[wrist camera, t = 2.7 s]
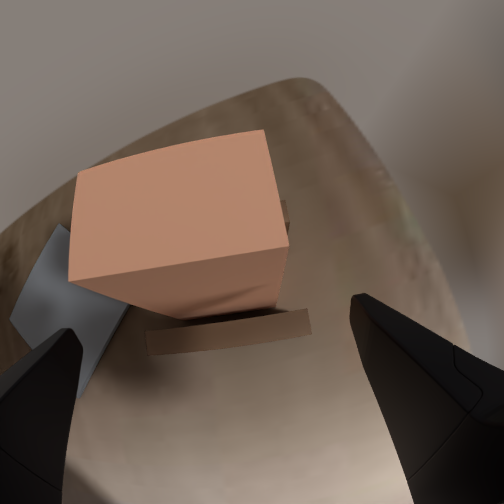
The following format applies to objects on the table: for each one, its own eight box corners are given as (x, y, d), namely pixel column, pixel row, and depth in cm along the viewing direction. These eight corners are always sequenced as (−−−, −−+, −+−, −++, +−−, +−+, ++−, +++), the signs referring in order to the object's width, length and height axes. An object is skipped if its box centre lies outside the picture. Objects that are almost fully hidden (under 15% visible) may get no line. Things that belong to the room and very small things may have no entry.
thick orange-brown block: (275, 307, 18) (289, 246, 7) (183, 320, 18) (68, 281, 7) (266, 253, 19) (263, 129, 8) (177, 267, 19) (78, 172, 8)
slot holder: (304, 335, 18) (311, 334, 15) (165, 354, 18) (147, 355, 15) (282, 220, 20) (284, 200, 17) (155, 241, 20) (139, 225, 17)
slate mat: (80, 397, 17) (77, 398, 16) (12, 319, 19) (9, 319, 18) (141, 286, 19) (138, 285, 19) (61, 225, 21) (58, 223, 21)
